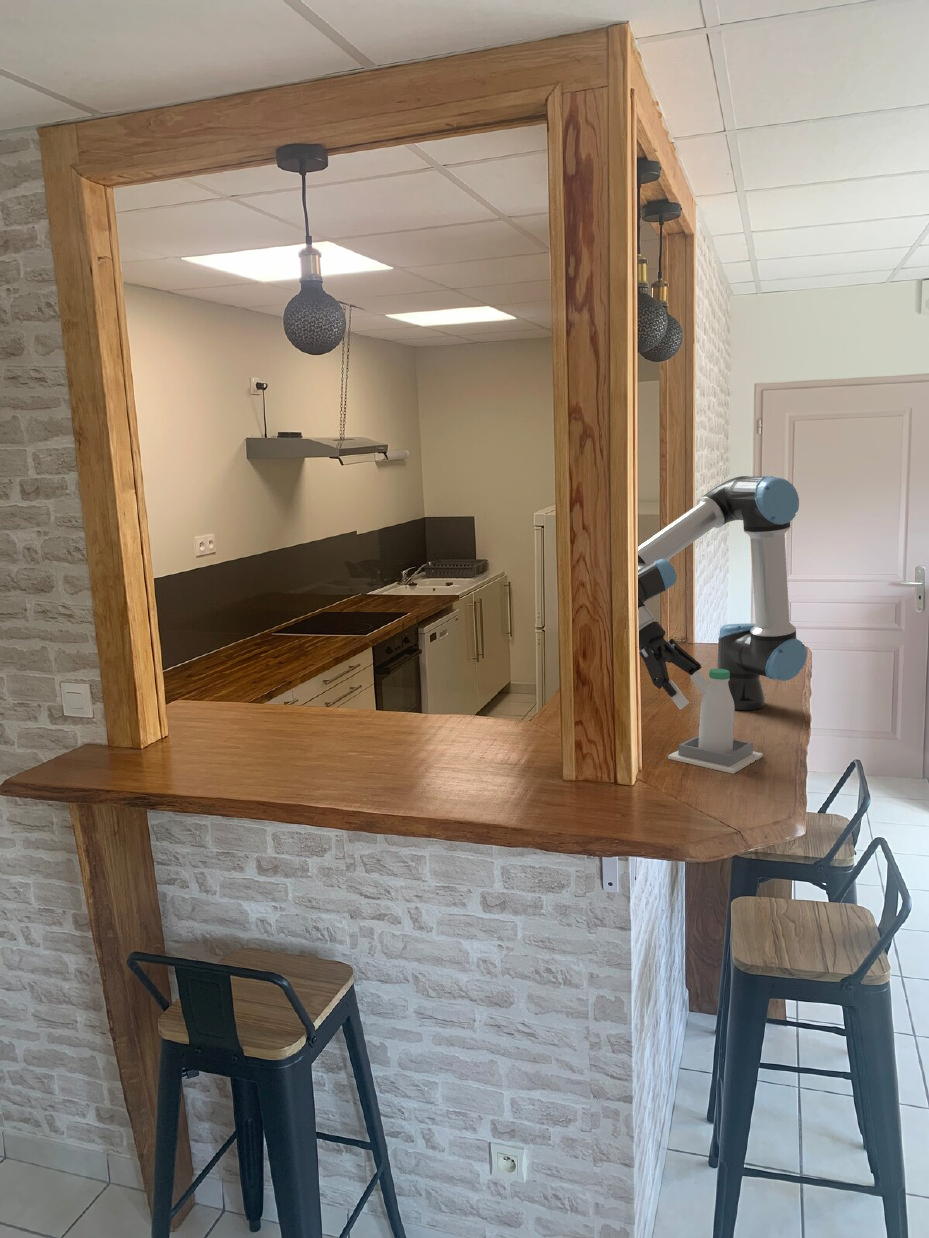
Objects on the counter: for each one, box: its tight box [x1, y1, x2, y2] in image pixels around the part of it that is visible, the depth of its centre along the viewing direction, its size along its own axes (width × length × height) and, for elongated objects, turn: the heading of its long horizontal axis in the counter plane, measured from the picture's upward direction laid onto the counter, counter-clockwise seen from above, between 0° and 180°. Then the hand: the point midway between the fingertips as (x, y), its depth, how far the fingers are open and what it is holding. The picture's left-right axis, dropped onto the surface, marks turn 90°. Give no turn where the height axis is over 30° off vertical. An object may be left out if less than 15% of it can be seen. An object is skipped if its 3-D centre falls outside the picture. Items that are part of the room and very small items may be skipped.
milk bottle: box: [698, 668, 736, 754], centre depth 215 cm, size 8×8×20 cm
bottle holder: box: [667, 734, 764, 775], centre depth 216 cm, size 16×16×3 cm
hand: (698, 700), depth 217 cm, fingers open, 13 cm apart
